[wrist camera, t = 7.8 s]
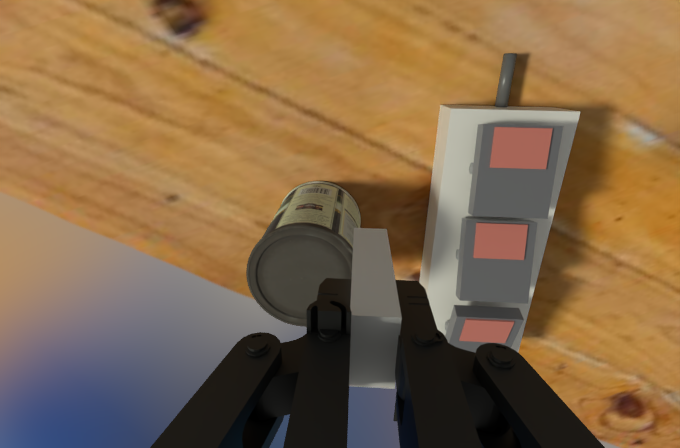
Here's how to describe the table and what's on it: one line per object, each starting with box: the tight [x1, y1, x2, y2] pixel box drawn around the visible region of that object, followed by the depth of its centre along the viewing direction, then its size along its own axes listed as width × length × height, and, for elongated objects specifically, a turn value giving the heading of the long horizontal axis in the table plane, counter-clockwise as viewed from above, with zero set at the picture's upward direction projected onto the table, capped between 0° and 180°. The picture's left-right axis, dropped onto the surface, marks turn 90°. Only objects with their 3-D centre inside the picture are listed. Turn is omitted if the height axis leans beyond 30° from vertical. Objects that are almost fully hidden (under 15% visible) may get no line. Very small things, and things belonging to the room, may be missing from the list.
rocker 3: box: [445, 305, 524, 353], centre depth 41 cm, size 8×7×2 cm
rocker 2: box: [456, 218, 538, 304], centre depth 38 cm, size 8×7×2 cm
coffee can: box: [247, 181, 361, 327], centre depth 38 cm, size 10×10×14 cm
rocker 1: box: [468, 124, 563, 219], centre depth 34 cm, size 8×7×2 cm
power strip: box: [419, 53, 580, 352], centre depth 41 cm, size 35×12×6 cm, turn 179°
